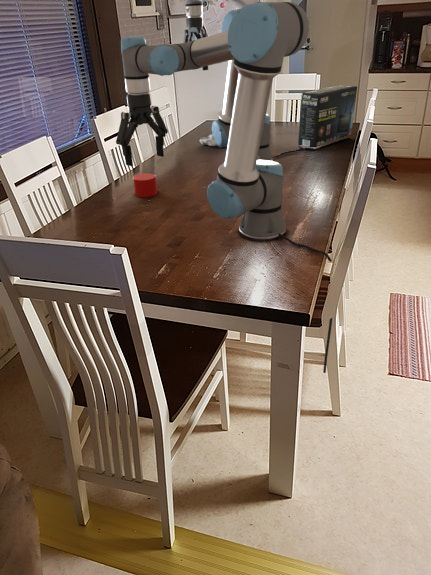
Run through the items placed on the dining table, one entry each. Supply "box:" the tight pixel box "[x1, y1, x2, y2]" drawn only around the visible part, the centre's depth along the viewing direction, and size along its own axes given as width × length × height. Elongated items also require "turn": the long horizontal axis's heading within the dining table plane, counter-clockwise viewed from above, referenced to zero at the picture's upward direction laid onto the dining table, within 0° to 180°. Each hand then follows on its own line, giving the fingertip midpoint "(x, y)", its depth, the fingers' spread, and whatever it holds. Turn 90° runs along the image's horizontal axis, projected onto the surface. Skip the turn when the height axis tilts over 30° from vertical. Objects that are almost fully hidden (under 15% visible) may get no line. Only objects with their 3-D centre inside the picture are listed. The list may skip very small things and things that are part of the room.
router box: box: [297, 84, 358, 151], centre depth 238 cm, size 36×11×27 cm, turn 134°
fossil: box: [199, 133, 222, 148], centre depth 250 cm, size 18×11×15 cm
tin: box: [132, 172, 158, 198], centre depth 184 cm, size 9×9×7 cm
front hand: (145, 160), depth 155 cm, fingers open, 13 cm apart
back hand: (197, 69), depth 217 cm, fingers open, 13 cm apart
